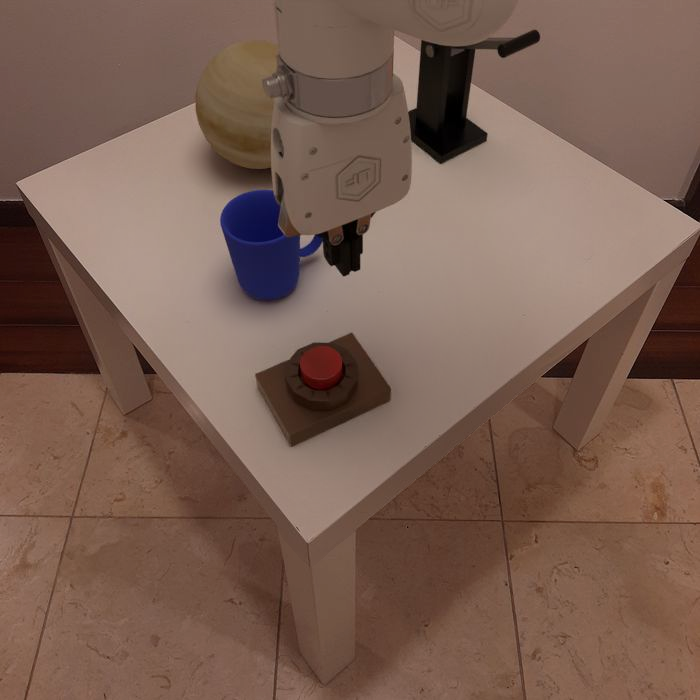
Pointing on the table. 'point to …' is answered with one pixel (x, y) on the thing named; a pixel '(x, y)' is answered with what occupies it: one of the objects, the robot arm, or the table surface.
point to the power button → (321, 367)
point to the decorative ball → (238, 103)
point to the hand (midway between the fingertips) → (343, 262)
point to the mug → (262, 245)
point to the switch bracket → (444, 103)
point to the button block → (322, 391)
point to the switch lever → (503, 44)
